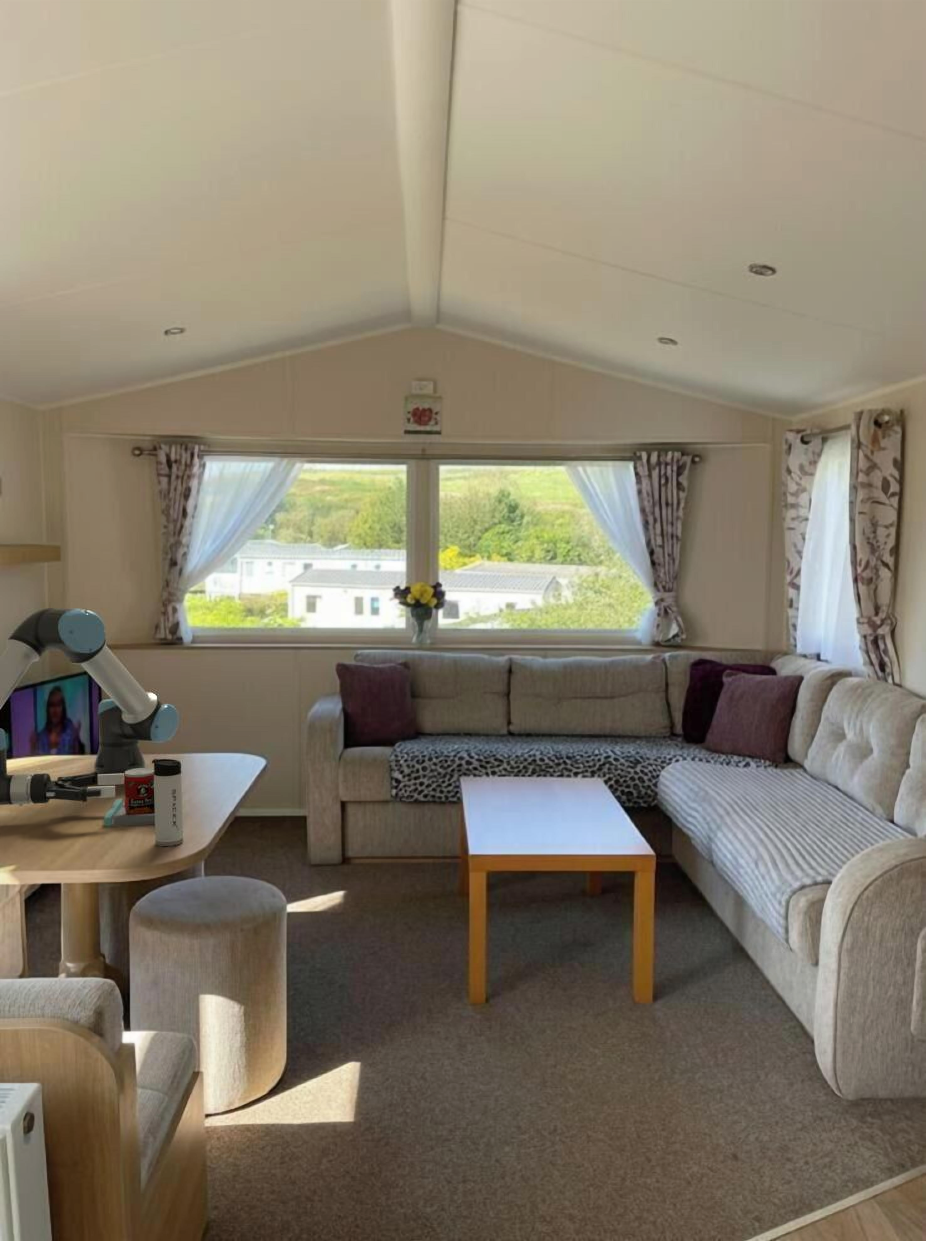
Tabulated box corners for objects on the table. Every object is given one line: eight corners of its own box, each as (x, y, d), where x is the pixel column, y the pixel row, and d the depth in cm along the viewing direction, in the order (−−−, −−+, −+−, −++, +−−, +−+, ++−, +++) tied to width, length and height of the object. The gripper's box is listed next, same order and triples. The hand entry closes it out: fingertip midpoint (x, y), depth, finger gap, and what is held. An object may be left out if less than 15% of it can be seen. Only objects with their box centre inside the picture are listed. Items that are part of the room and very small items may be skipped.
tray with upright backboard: (117, 807, 258) (116, 770, 257) (174, 804, 261) (174, 768, 260) (104, 826, 240) (103, 787, 240) (166, 823, 243) (165, 784, 242)
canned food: (127, 818, 245) (126, 776, 245) (123, 811, 252) (121, 769, 252) (158, 814, 249) (157, 772, 248) (153, 807, 256) (152, 766, 255)
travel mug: (157, 839, 230) (155, 756, 228) (185, 838, 230) (183, 756, 229) (151, 847, 224) (149, 762, 222) (180, 846, 224) (178, 762, 223)
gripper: (44, 791, 257) (127, 787, 261) (19, 816, 233) (111, 812, 237) (43, 763, 257) (126, 760, 261) (18, 786, 232) (110, 782, 236)
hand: (119, 785), depth 249 cm, fingers open, 13 cm apart
